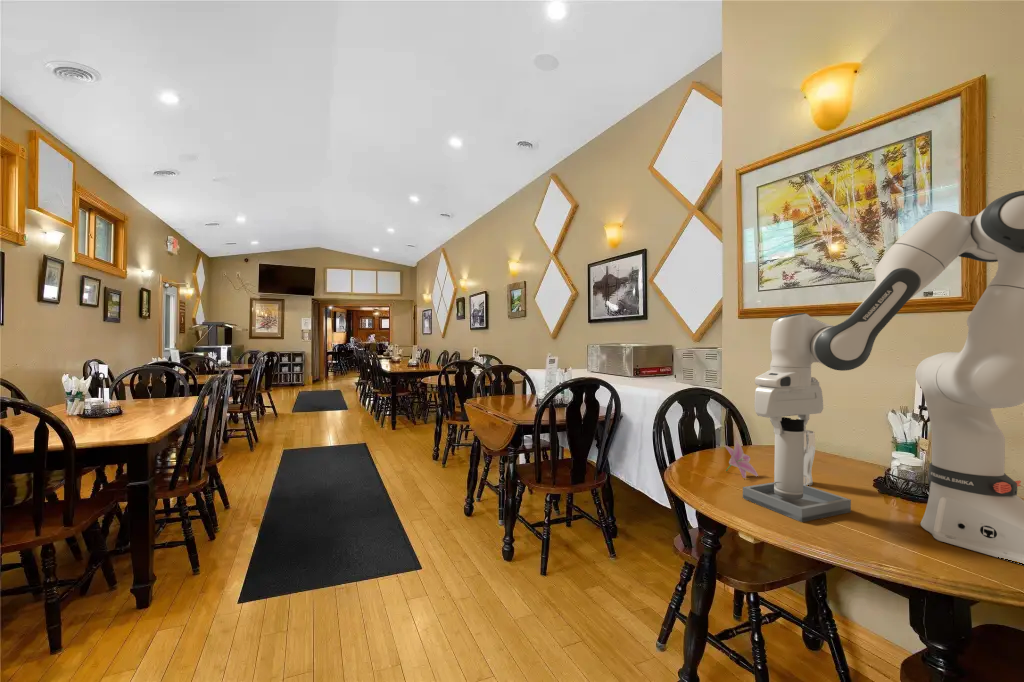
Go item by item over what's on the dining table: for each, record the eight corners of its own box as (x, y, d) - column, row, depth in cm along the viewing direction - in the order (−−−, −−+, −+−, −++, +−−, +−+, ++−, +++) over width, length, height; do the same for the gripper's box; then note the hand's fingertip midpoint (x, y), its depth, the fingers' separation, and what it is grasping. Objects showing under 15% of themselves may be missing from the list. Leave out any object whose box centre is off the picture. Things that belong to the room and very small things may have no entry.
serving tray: (850, 512, 110) (850, 499, 109) (801, 522, 103) (801, 509, 103) (788, 490, 124) (788, 479, 124) (742, 498, 118) (742, 487, 118)
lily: (721, 483, 134) (739, 458, 130) (704, 457, 145) (720, 434, 141) (755, 493, 136) (773, 469, 133) (735, 467, 147) (751, 444, 144)
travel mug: (770, 495, 114) (771, 416, 114) (777, 489, 119) (779, 413, 119) (799, 502, 110) (800, 419, 110) (805, 495, 115) (807, 416, 114)
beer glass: (820, 486, 128) (821, 433, 128) (795, 486, 128) (796, 433, 128) (804, 478, 135) (805, 428, 135) (781, 478, 135) (781, 428, 135)
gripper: (806, 375, 121) (806, 427, 121) (749, 378, 113) (749, 433, 113) (830, 377, 115) (830, 432, 115) (772, 380, 107) (772, 438, 108)
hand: (789, 433), depth 114 cm, fingers closed on travel mug, 6 cm apart
